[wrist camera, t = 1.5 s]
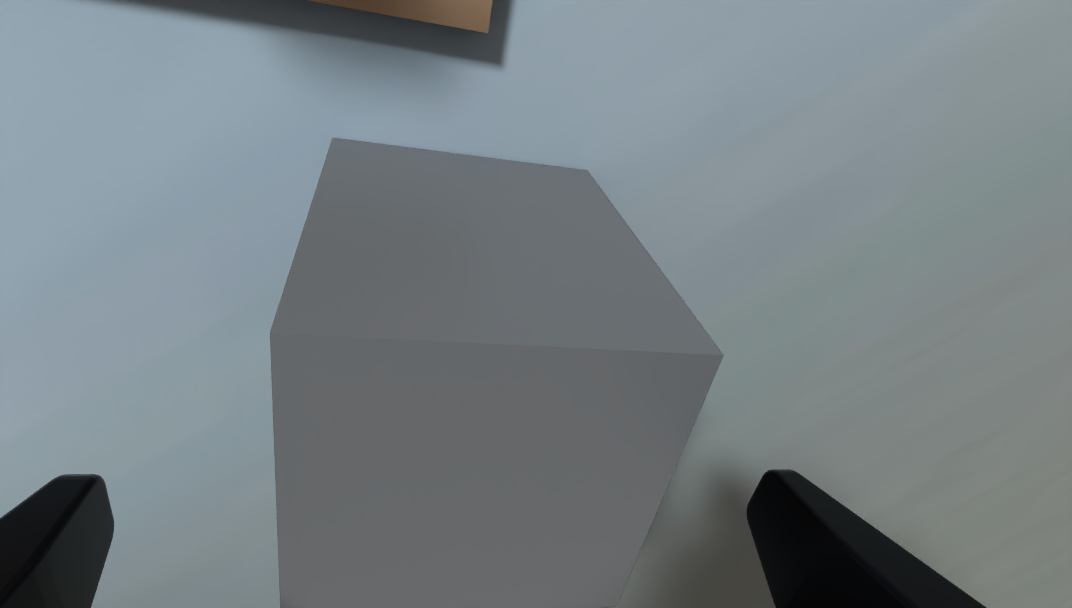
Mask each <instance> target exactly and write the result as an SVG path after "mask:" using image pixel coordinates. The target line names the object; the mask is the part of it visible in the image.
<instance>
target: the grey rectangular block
mask: <svg viewBox="0 0 1072 608" xmlns="http://www.w3.org/2000/svg"><path fill="white" fill-rule="evenodd" d="M270 348H271V374H272V400H273V427H274V453H275V480H276V506H277V533H278V559H279V585H280V608H603V607H616V606H617V604H618V602H619V599H620V597H621V595H622V592H623V590H624V588H625V585H626V583H627V581H628V578H629V576H630V574H631V571H632V569H633V566H634V564H635V562H636V559H637V557H638V555H639V552H640V550H641V548H642V545H643V543H644V541H645V538H646V536H647V534H648V531H649V529H650V527H651V524H652V522H653V520H654V517H655V515H656V513H657V510H658V508H659V506H660V503H661V501H662V498H663V496H664V494H665V491H666V489H667V487H668V484H669V482H670V480H671V477H672V475H673V473H674V470H675V468H676V466H677V463H678V461H679V459H680V456H681V454H682V452H683V449H684V447H685V445H686V442H687V440H688V438H689V435H690V433H691V430H692V428H693V426H694V423H695V421H696V419H697V416H698V414H699V412H700V409H701V407H702V405H703V402H704V400H705V398H706V395H707V393H708V391H709V388H710V386H711V384H712V381H713V379H714V377H715V374H716V372H717V370H718V367H719V365H720V363H721V360H722V358H723V354H722V352H721V351H720V349H719V348H718V347H717V345H716V344H715V343H714V341H713V340H712V339H711V337H710V336H709V335H708V333H707V332H706V330H705V329H704V328H703V326H702V325H701V324H700V322H699V321H698V320H697V318H696V317H695V316H694V314H693V313H692V311H691V310H690V309H689V307H688V306H687V305H686V303H685V302H684V301H683V299H682V298H681V297H680V295H679V294H678V292H677V291H676V290H675V288H674V287H673V286H672V284H671V283H670V282H669V280H668V279H667V278H666V276H665V275H664V273H663V272H662V271H661V269H660V268H659V267H658V265H657V264H656V263H655V261H654V260H653V259H652V257H651V256H650V254H649V253H648V252H647V250H646V249H645V248H644V246H643V245H642V244H641V242H640V241H639V240H638V238H637V237H636V235H635V234H634V233H633V231H632V230H631V229H630V227H629V226H628V225H627V223H626V222H625V221H624V219H623V218H622V216H621V215H620V214H619V212H618V211H617V210H616V208H615V207H614V206H613V204H612V203H611V202H610V200H609V199H608V197H607V196H606V195H605V193H604V192H603V191H602V189H601V188H600V187H599V185H598V184H597V183H596V181H595V180H594V178H593V177H592V176H591V174H590V173H589V172H588V171H587V170H579V169H571V168H564V167H556V166H548V165H540V164H533V163H525V162H517V161H509V160H501V159H494V158H486V157H478V156H470V155H462V154H455V153H447V152H439V151H431V150H424V149H416V148H408V147H400V146H392V145H385V144H377V143H369V142H361V141H353V140H346V139H338V138H332V141H331V144H330V147H329V150H328V153H327V157H326V160H325V163H324V166H323V169H322V172H321V175H320V178H319V181H318V185H317V188H316V191H315V194H314V197H313V200H312V203H311V206H310V210H309V213H308V216H307V219H306V222H305V225H304V228H303V231H302V235H301V238H300V241H299V244H298V247H297V250H296V253H295V256H294V259H293V263H292V266H291V269H290V272H289V275H288V278H287V281H286V284H285V288H284V291H283V294H282V297H281V300H280V303H279V306H278V309H277V312H276V316H275V319H274V322H273V325H272V328H271V331H270Z"/></svg>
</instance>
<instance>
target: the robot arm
mask: <svg viewBox="0 0 1072 608" xmlns="http://www.w3.org/2000/svg"><path fill="white" fill-rule="evenodd" d="M747 520H748V524H749V527H750V530H751V533H752V536H753V539H754V542H755V545H756V549H757V552H758V555H759V558H760V561H761V564H762V567H763V570H764V573H765V576H766V579H767V583H768V586H769V589H770V592H771V595H772V598H773V601H774V604H775V607H776V608H986V607H985V606H983V605H982V604H981V603H979V602H978V601H976V600H975V599H974V598H972V597H971V596H969V595H968V594H967V593H965V592H964V591H962V590H961V589H960V588H958V587H957V586H955V585H954V584H953V583H951V582H950V581H948V580H947V579H946V578H944V577H943V576H941V575H940V574H939V573H937V572H936V571H934V570H933V569H932V568H930V567H929V566H927V565H926V564H925V563H923V562H922V561H920V560H919V559H918V558H916V557H915V556H913V555H912V554H911V553H909V552H908V551H906V550H905V549H904V548H902V547H901V546H899V545H898V544H897V543H895V542H894V541H892V540H891V539H890V538H888V537H887V536H886V535H884V534H883V533H881V532H880V531H879V530H877V529H876V528H874V527H873V526H872V525H870V524H869V523H867V522H866V521H865V520H863V519H862V518H860V517H859V516H858V515H856V514H855V513H853V512H852V511H851V510H849V509H848V508H846V507H845V506H844V505H842V504H841V503H839V502H838V501H837V500H835V499H834V498H832V497H831V496H830V495H828V494H827V493H825V492H824V491H823V490H821V489H820V488H818V487H817V486H816V485H814V484H813V483H811V482H810V481H809V480H807V479H806V478H804V477H803V476H802V475H800V474H799V473H797V472H795V471H793V470H769V471H767V472H766V473H765V474H764V475H763V476H762V478H761V480H760V482H759V484H758V486H757V488H756V490H755V492H754V493H753V495H752V497H751V499H750V501H749V503H748V506H747ZM113 532H114V519H113V515H112V510H111V506H110V502H109V498H108V493H107V489H106V485H105V482H104V480H103V478H102V477H101V476H99V475H95V474H68V475H61V476H59V477H57V478H54V479H53V480H51V481H50V482H49V483H47V484H46V485H44V486H43V487H42V488H40V489H39V490H38V491H36V492H35V493H34V494H32V495H31V496H30V497H28V498H27V499H26V500H24V501H23V502H22V503H20V504H19V505H17V506H16V507H15V508H13V509H12V510H11V511H9V512H8V513H7V514H5V515H4V516H3V517H1V518H0V608H91V606H92V602H93V599H94V596H95V593H96V590H97V586H98V583H99V580H100V577H101V574H102V570H103V567H104V564H105V561H106V558H107V554H108V551H109V548H110V545H111V542H112V538H113Z"/></svg>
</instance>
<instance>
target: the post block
mask: <svg viewBox="0 0 1072 608" xmlns="http://www.w3.org/2000/svg"><path fill="white" fill-rule="evenodd" d="M307 1H313V2H318V3H324V4H329V5H335V6H340V7H346V8H351V9H357V10H362V11H368V12H373V13H379V14H384V15H390V16H395V17H401V18H406V19H412V20H417V21H423V22H428V23H434V24H439V25H445V26H450V27H456V28H461V29H467V30H472V31H478V32H483V33H488V30H489V23H490V16H491V9H492V2H493V0H307Z"/></svg>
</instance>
